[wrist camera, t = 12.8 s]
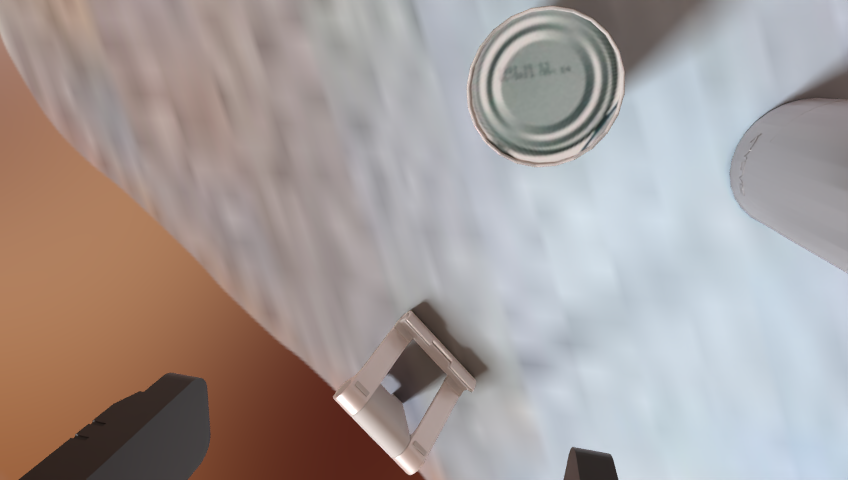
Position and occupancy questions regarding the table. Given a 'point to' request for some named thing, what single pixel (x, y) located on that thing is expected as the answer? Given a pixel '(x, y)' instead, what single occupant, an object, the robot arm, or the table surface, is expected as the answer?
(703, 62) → the table surface
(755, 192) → the robot arm
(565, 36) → the canned food
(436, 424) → the portable electronic device stand
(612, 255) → the table surface
